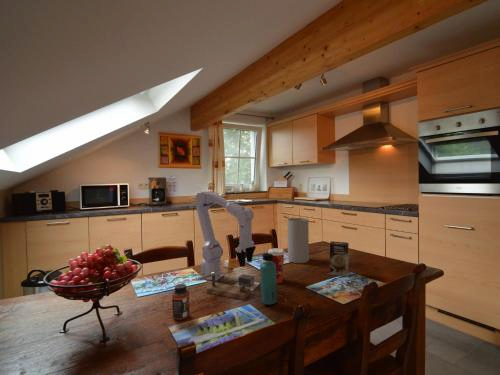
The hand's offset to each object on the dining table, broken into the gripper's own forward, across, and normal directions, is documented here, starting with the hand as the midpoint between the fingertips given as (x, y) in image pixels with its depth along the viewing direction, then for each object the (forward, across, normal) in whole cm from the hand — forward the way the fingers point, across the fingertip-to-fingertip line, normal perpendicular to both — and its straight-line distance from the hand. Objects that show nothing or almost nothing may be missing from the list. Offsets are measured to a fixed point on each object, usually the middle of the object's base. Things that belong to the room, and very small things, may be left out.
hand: (245, 263), depth 120 cm
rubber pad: (+10, 0, 0) cm, 10 cm away
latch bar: (+3, -13, +12) cm, 18 cm away
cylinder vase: (+10, +46, -13) cm, 49 cm away
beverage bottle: (+10, -13, -16) cm, 23 cm away
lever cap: (+10, 0, 0) cm, 10 cm away
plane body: (+10, -10, +4) cm, 15 cm away
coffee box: (+10, +32, -38) cm, 51 cm away
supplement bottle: (+10, -34, +10) cm, 37 cm away
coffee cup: (+10, +11, -11) cm, 19 cm away
